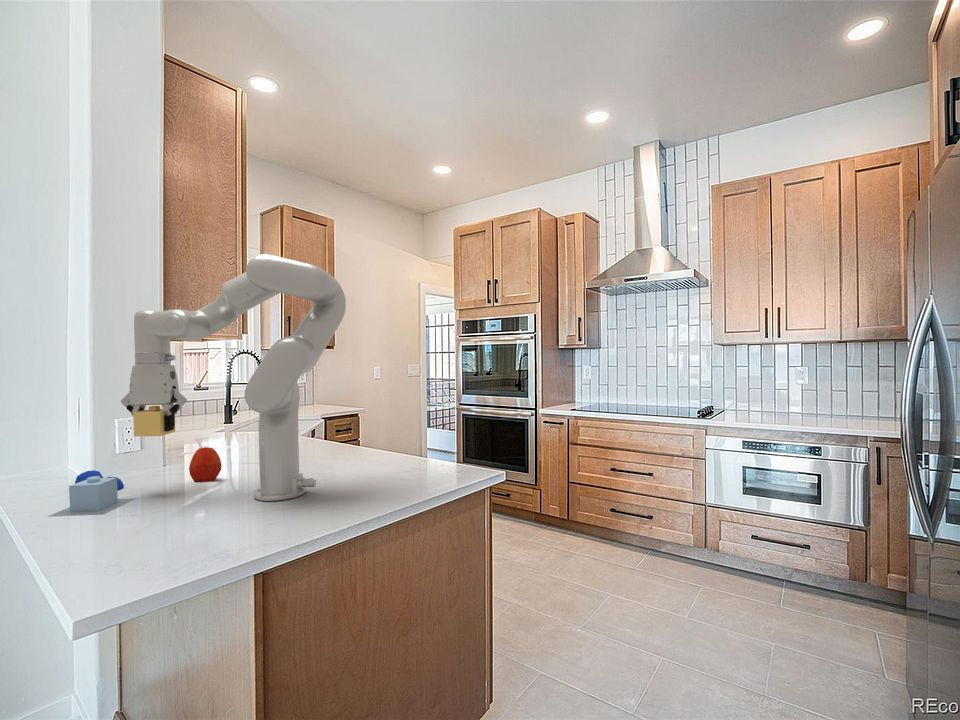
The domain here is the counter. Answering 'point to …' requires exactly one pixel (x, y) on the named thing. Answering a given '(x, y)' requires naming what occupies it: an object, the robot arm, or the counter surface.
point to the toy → (96, 473)
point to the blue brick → (93, 494)
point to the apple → (205, 465)
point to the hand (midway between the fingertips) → (154, 430)
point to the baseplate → (67, 511)
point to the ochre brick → (150, 422)
